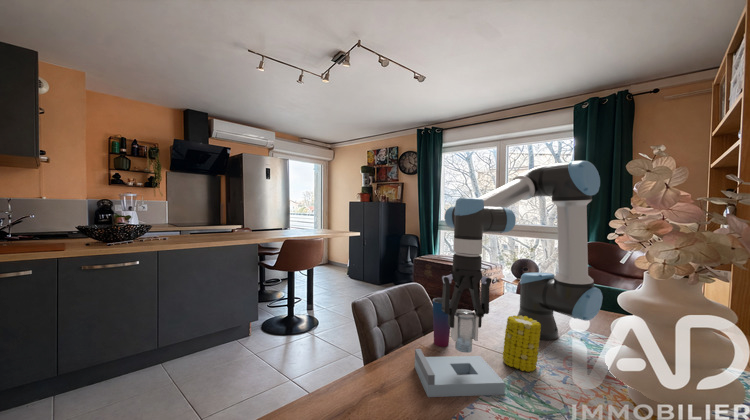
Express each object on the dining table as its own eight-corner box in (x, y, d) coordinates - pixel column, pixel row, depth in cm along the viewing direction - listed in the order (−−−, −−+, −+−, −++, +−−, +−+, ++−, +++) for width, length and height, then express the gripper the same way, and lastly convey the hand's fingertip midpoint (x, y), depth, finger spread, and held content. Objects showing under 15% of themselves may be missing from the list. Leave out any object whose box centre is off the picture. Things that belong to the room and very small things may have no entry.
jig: (479, 365, 90) (480, 347, 90) (504, 394, 76) (505, 373, 76) (414, 367, 88) (415, 348, 88) (427, 397, 74) (428, 375, 74)
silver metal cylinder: (468, 344, 85) (470, 309, 85) (476, 353, 80) (478, 315, 80) (451, 344, 84) (452, 309, 84) (458, 353, 79) (459, 315, 79)
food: (496, 364, 94) (525, 364, 96) (520, 375, 83) (553, 375, 84) (494, 313, 98) (522, 314, 99) (516, 317, 86) (547, 318, 88)
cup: (451, 349, 100) (453, 304, 100) (431, 346, 101) (432, 302, 101) (450, 340, 107) (452, 298, 107) (431, 338, 108) (432, 297, 108)
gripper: (492, 253, 87) (489, 333, 87) (431, 251, 85) (427, 333, 85) (506, 257, 79) (502, 344, 79) (439, 255, 77) (435, 345, 77)
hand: (464, 338), depth 82 cm, fingers closed on silver metal cylinder, 5 cm apart
